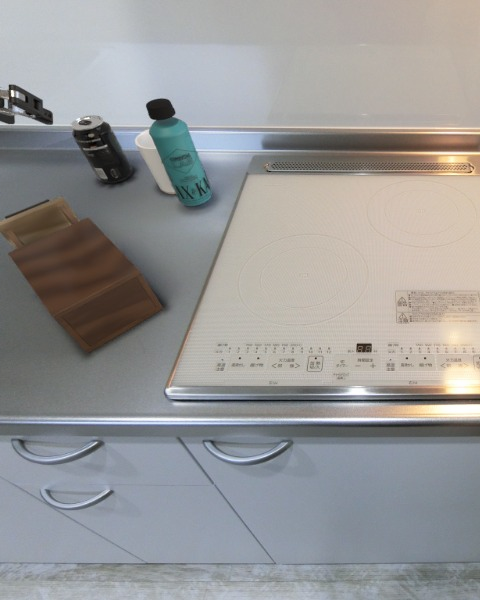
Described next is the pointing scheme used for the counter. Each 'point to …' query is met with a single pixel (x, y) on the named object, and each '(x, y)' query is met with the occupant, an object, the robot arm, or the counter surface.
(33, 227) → the drawer
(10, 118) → the robot arm
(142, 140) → the mug
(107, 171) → the beverage can
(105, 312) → the cabinet
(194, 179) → the beverage bottle
